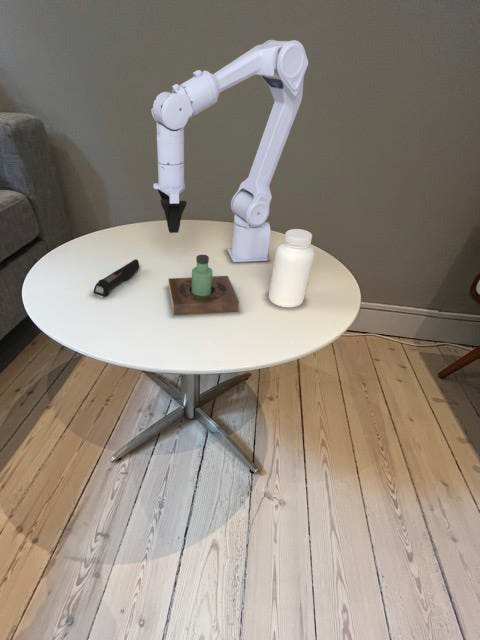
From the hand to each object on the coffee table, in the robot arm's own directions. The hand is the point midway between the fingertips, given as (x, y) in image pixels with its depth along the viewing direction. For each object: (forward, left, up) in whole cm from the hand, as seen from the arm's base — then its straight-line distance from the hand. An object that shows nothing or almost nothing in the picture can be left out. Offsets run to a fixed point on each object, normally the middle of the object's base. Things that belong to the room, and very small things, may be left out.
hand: (172, 226), depth 92 cm
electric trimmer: (+14, +7, -11) cm, 19 cm away
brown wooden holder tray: (-5, +17, -10) cm, 21 cm away
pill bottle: (-24, +19, -11) cm, 32 cm away
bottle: (-5, +17, -10) cm, 20 cm away
